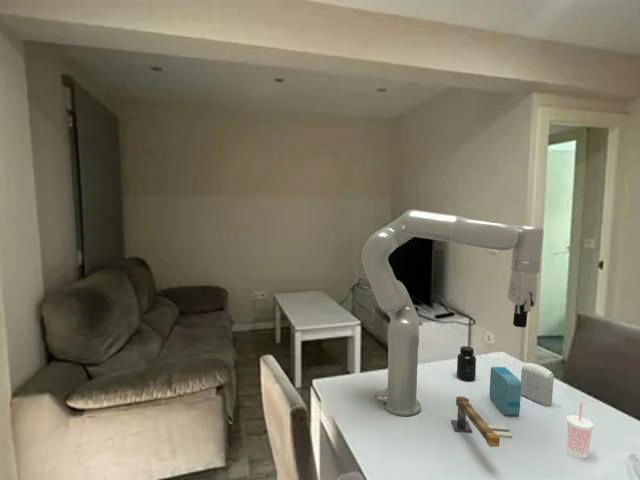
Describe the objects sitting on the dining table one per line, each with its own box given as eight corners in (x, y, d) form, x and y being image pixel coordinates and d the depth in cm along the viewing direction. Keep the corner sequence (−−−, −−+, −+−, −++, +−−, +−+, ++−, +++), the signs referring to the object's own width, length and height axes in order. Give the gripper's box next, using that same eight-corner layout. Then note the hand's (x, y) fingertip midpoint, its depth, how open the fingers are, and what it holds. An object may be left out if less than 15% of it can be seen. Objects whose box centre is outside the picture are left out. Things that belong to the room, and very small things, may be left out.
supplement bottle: (476, 376, 152) (478, 347, 150) (473, 383, 146) (474, 352, 145) (458, 372, 155) (460, 343, 154) (454, 379, 149) (456, 349, 148)
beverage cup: (566, 442, 110) (569, 395, 109) (592, 451, 106) (595, 402, 105) (562, 453, 105) (566, 404, 104) (590, 462, 102) (593, 412, 100)
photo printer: (554, 404, 131) (556, 369, 130) (547, 407, 129) (549, 372, 128) (524, 391, 140) (526, 358, 139) (517, 394, 138) (519, 361, 136)
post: (454, 431, 115) (455, 409, 114) (451, 422, 120) (451, 401, 119) (472, 432, 114) (473, 411, 114) (467, 423, 119) (468, 402, 119)
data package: (519, 417, 123) (521, 381, 122) (505, 417, 123) (507, 381, 122) (501, 398, 135) (503, 365, 134) (488, 398, 135) (490, 365, 134)
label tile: (487, 436, 113) (487, 433, 113) (482, 426, 118) (482, 424, 118) (512, 437, 112) (512, 435, 112) (506, 428, 117) (506, 425, 117)
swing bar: (454, 403, 118) (454, 395, 118) (465, 403, 118) (465, 395, 118) (487, 446, 97) (488, 438, 97) (501, 446, 97) (502, 437, 97)
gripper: (504, 262, 123) (498, 317, 125) (521, 270, 108) (515, 333, 110) (529, 263, 122) (523, 319, 124) (549, 272, 107) (543, 335, 109)
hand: (519, 326), depth 117 cm, fingers closed
